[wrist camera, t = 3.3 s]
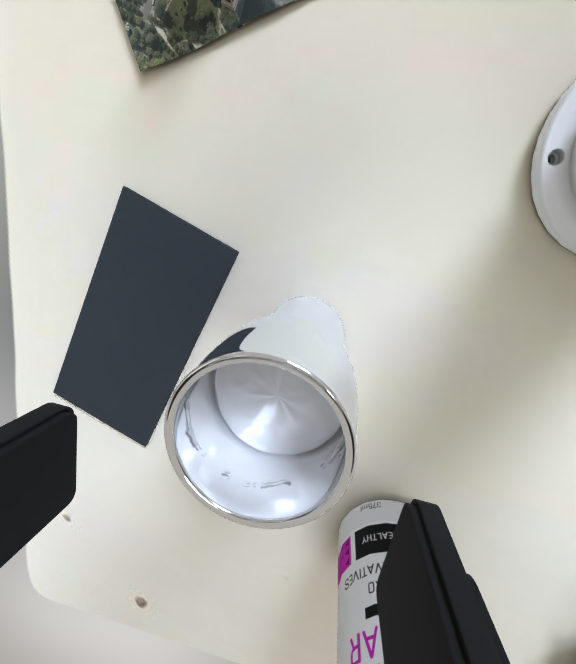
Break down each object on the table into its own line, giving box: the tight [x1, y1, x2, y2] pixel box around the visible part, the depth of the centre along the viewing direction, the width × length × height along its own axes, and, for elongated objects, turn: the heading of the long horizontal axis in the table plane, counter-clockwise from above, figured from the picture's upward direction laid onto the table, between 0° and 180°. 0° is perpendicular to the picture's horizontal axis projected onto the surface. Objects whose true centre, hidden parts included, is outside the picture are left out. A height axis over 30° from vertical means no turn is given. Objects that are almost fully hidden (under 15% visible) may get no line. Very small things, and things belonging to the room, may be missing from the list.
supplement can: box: [337, 499, 404, 664], centre depth 21 cm, size 8×8×15 cm
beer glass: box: [164, 296, 358, 529], centre depth 18 cm, size 7×7×15 cm
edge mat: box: [54, 186, 239, 446], centre depth 27 cm, size 20×10×1 cm, turn 151°
